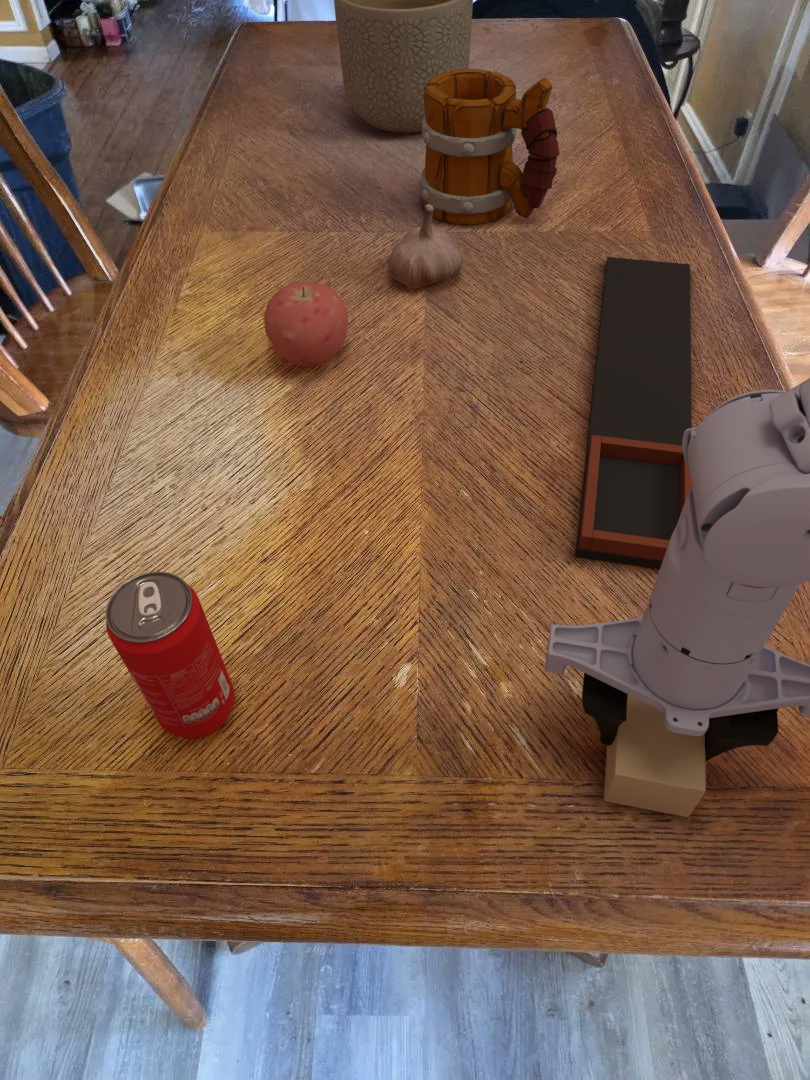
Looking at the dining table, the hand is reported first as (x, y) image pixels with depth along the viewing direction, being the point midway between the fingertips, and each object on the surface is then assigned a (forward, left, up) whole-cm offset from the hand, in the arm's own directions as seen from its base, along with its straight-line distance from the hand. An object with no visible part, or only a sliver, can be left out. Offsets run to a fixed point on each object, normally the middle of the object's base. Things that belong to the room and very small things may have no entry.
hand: (651, 738), depth 50 cm
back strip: (+1, -35, -1) cm, 35 cm away
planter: (+34, -86, -2) cm, 92 cm away
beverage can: (+29, +3, -2) cm, 29 cm away
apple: (+32, -34, -2) cm, 47 cm away
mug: (+20, -64, -2) cm, 67 cm away
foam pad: (0, 0, -1) cm, 1 cm away
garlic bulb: (+24, -49, -2) cm, 55 cm away
